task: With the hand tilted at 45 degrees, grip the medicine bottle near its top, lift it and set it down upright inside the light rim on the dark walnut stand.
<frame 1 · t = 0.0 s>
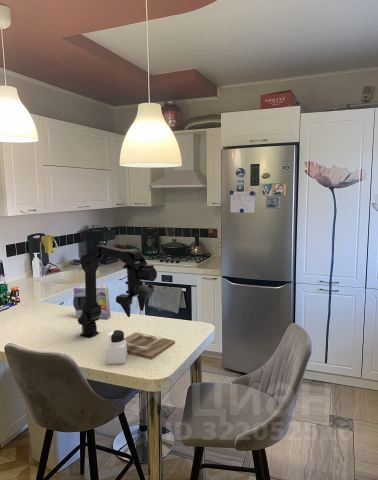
hand: (135, 313, 166), 15 cm above the table, tool pointing down, fingers open, 9 cm apart
cake pan box: (92, 318, 206), on the table
walnut stand: (143, 345, 168), on the table
medicine bottle: (117, 360, 155), on the table
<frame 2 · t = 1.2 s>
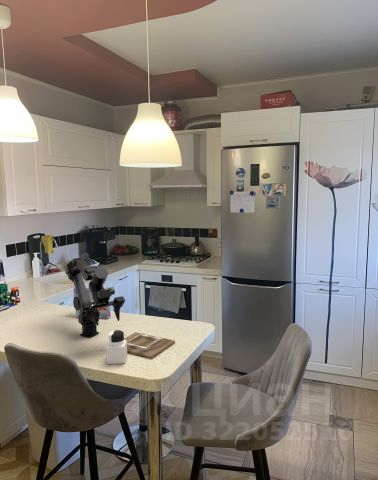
hand: (108, 322, 159), 13 cm above the table, tool tilted 45°, fingers open, 9 cm apart
nothing on the table moved.
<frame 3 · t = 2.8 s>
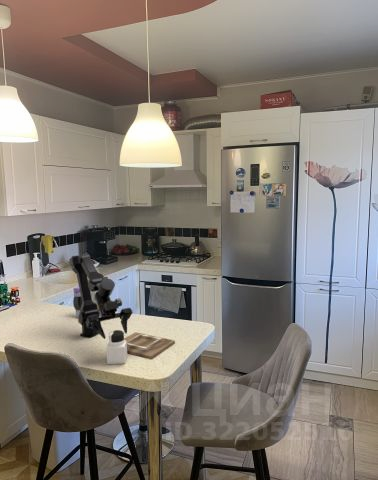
hand: (115, 335, 154), 10 cm above the table, tool tilted 45°, fingers open, 9 cm apart
nothing on the table moved.
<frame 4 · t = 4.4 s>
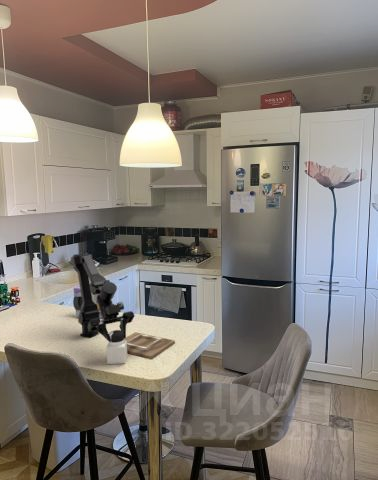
hand: (117, 339, 152), 9 cm above the table, tool tilted 45°, fingers closed on medicine bottle, 6 cm apart
medicine bottle: (117, 360, 155), on the table, touching gripper
everything else where it was.
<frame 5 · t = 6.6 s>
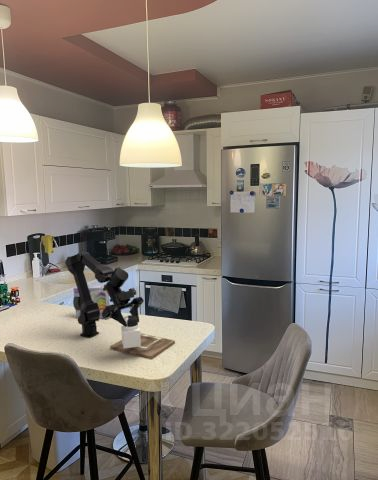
hand: (132, 324, 158), 13 cm above the table, tool tilted 45°, fingers closed on medicine bottle, 6 cm apart
medicine bottle: (131, 344, 160), point 4 cm above the table, touching gripper
everything else where it was.
when the fingers open (11 cm above the table, at t = 8.8 s): medicine bottle stays where it is, resting on walnut stand.
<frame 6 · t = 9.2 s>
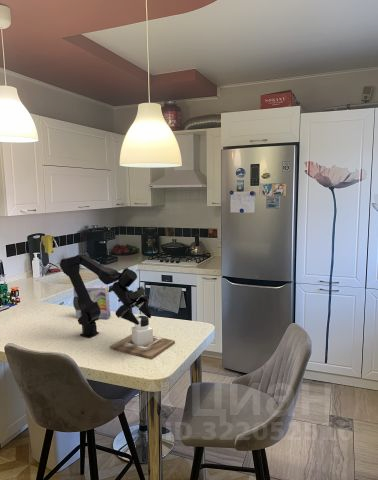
hand: (144, 320, 166), 12 cm above the table, tool tilted 45°, fingers open, 9 cm apart
medicine bottle: (142, 343, 168), point 1 cm above the table, touching walnut stand
everything else where it was.
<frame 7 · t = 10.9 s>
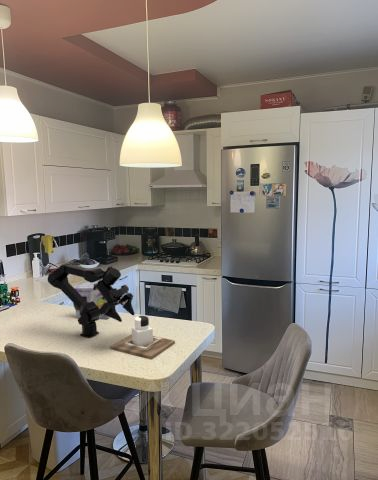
hand: (127, 318, 170), 12 cm above the table, tool tilted 45°, fingers open, 9 cm apart
nothing on the table moved.
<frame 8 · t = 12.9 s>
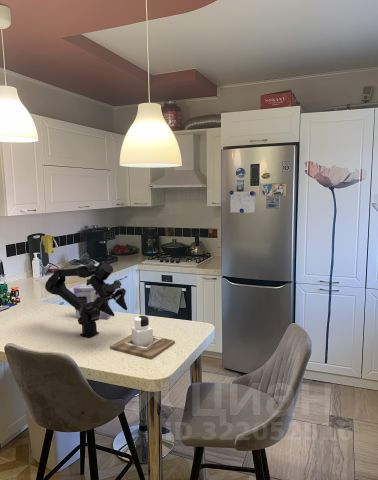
hand: (120, 312, 171), 14 cm above the table, tool tilted 45°, fingers open, 9 cm apart
nothing on the table moved.
at the end: medicine bottle 0.2 cm off-centre on the walnut stand, point 1.0 cm above the walnut stand's base; medicine bottle tilted 0°; the gripper is holding nothing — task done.
